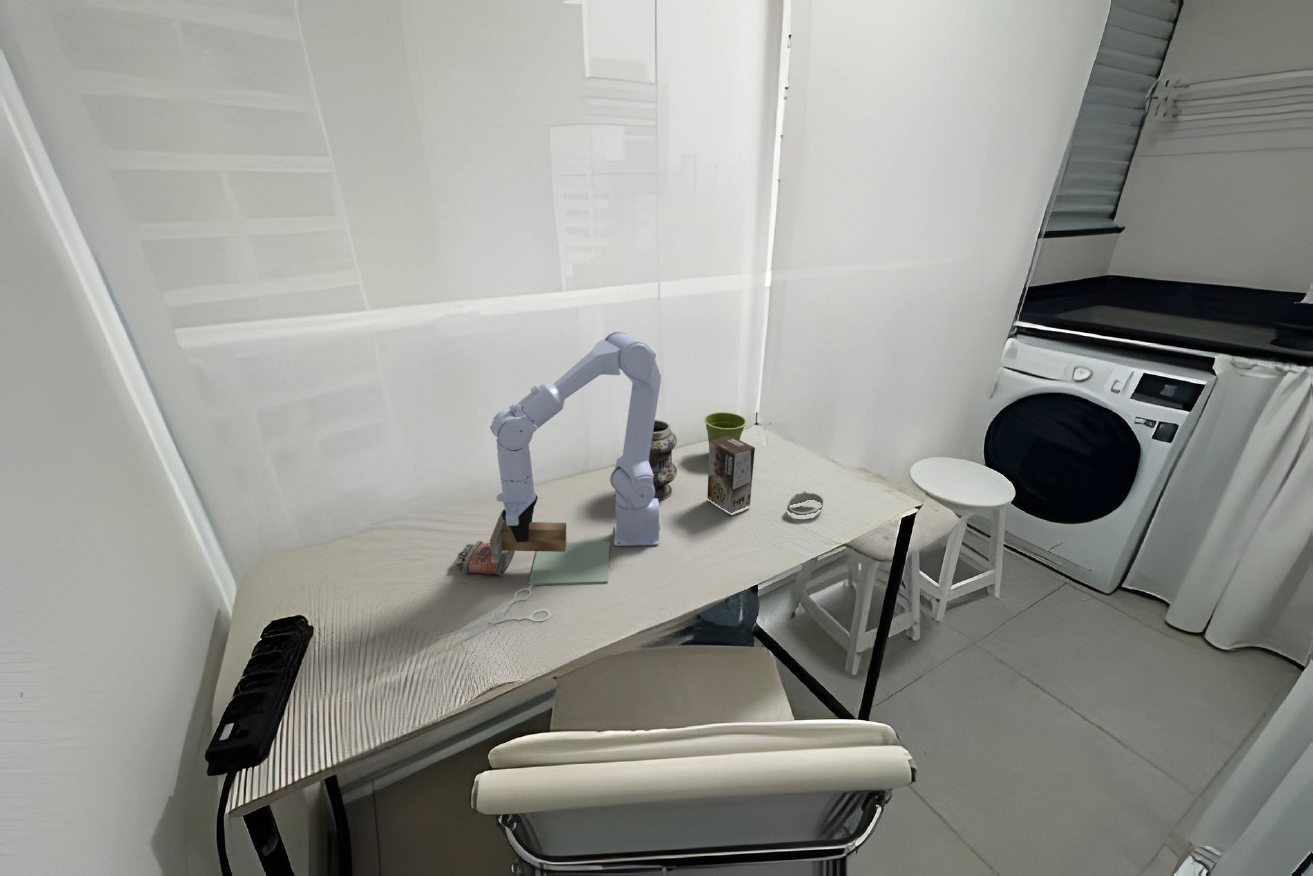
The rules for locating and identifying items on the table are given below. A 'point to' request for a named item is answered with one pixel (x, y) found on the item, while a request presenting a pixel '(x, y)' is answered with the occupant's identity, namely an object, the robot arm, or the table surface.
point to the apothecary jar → (662, 459)
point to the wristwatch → (802, 498)
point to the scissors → (500, 618)
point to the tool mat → (572, 564)
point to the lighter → (482, 559)
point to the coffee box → (730, 473)
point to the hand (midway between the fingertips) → (523, 536)
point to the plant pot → (724, 425)
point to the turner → (539, 538)
